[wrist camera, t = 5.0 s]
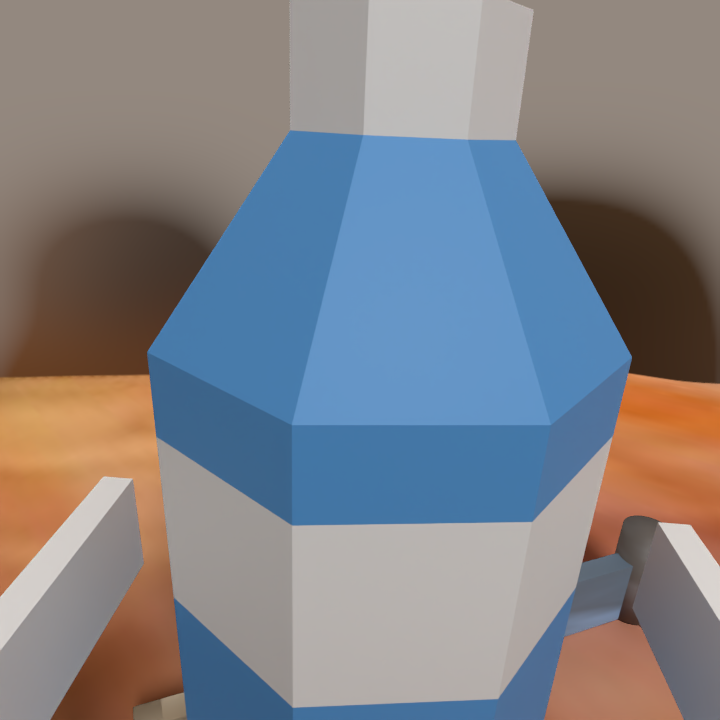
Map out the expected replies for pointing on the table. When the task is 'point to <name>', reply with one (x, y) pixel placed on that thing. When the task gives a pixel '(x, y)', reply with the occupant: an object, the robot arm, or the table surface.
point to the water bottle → (386, 392)
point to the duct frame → (589, 607)
